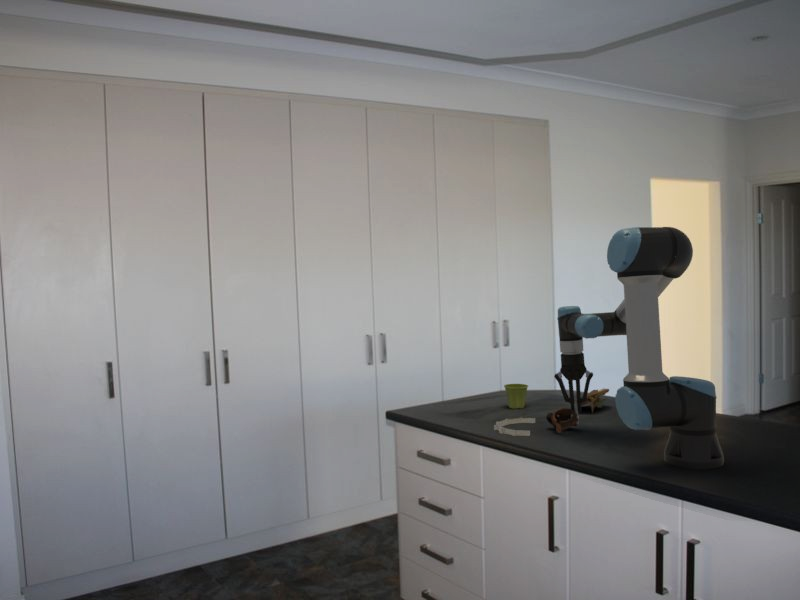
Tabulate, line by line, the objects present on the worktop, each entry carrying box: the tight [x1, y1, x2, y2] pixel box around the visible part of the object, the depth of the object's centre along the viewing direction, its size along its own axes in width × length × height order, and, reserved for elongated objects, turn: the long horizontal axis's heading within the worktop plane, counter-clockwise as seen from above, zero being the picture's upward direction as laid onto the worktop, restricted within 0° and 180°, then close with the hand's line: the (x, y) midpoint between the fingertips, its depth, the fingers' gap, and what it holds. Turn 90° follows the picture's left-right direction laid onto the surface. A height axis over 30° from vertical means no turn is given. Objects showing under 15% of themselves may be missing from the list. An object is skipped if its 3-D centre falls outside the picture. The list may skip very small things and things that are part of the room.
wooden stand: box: [575, 387, 610, 414], centre depth 253 cm, size 18×14×8 cm
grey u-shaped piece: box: [493, 417, 536, 437], centre depth 231 cm, size 21×13×2 cm, turn 163°
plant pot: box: [503, 383, 529, 410], centre depth 264 cm, size 9×9×9 cm
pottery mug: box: [545, 407, 580, 434], centre depth 224 cm, size 12×9×8 cm
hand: (577, 422), depth 225 cm, fingers closed
